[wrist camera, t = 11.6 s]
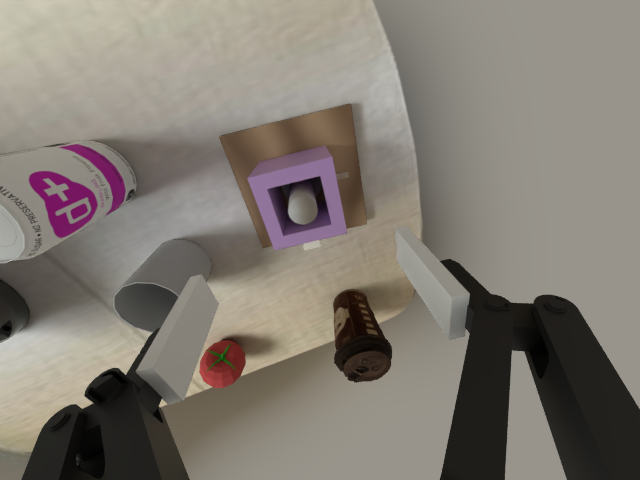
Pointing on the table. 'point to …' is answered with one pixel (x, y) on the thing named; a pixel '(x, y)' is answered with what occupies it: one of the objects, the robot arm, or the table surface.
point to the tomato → (222, 364)
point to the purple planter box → (272, 203)
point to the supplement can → (58, 194)
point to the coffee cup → (359, 339)
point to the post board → (295, 137)
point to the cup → (160, 283)
